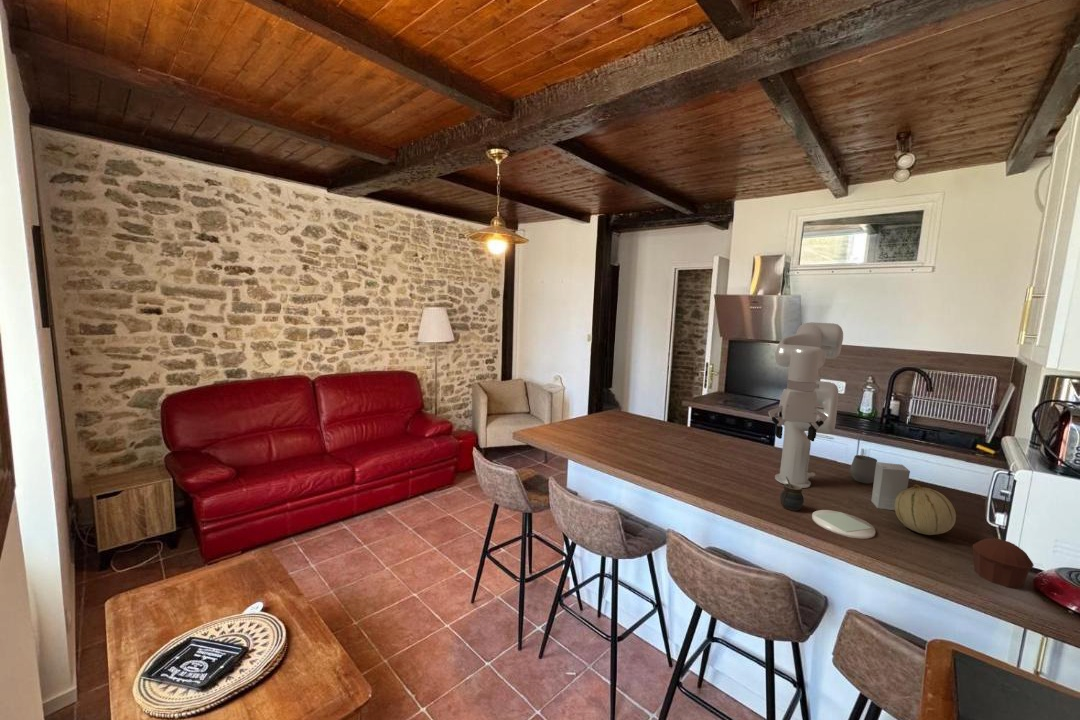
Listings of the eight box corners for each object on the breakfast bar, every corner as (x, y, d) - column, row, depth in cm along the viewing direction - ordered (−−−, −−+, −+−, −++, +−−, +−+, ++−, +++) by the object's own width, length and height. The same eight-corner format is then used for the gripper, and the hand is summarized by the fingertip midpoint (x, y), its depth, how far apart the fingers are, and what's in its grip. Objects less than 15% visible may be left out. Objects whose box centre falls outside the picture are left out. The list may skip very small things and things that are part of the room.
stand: (837, 510, 153) (838, 507, 153) (888, 535, 137) (889, 531, 137) (800, 515, 148) (800, 511, 148) (847, 541, 132) (848, 537, 132)
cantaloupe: (957, 549, 130) (965, 501, 129) (895, 534, 138) (902, 489, 136) (944, 529, 143) (952, 485, 141) (888, 516, 151) (894, 474, 149)
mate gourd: (790, 513, 149) (793, 485, 148) (773, 504, 157) (776, 477, 155) (807, 511, 151) (810, 484, 150) (789, 502, 158) (792, 476, 157)
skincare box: (896, 505, 160) (902, 463, 158) (905, 513, 153) (912, 470, 151) (869, 501, 163) (875, 460, 161) (876, 509, 156) (883, 466, 154)
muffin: (1032, 598, 109) (1039, 560, 107) (970, 578, 116) (976, 542, 115) (1024, 577, 117) (1031, 542, 116) (967, 560, 125) (973, 527, 123)
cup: (852, 483, 180) (855, 459, 179) (846, 475, 189) (849, 453, 187) (880, 487, 176) (883, 463, 175) (872, 479, 185) (875, 456, 184)
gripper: (824, 386, 141) (817, 437, 143) (767, 382, 143) (761, 433, 145) (836, 390, 133) (829, 444, 135) (776, 386, 136) (770, 439, 138)
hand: (794, 438), depth 140 cm, fingers open, 9 cm apart
